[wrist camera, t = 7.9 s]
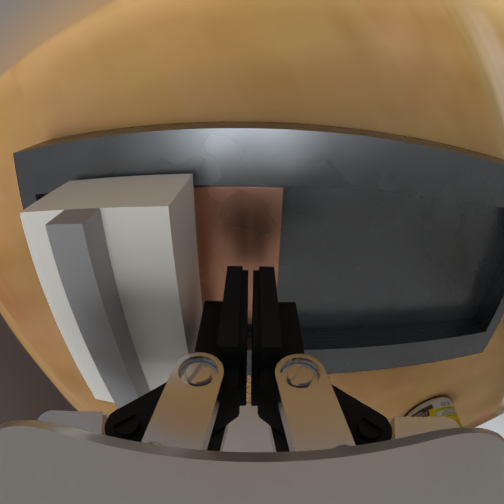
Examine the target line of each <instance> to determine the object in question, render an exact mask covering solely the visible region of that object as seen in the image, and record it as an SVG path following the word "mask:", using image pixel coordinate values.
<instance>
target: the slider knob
mask: <svg viewBox="0 0 504 504" xmlns="http://www.w3.org/2000/svg"><path fill="white" fill-rule="evenodd" d="M20 217H21V221H22V225H23V229H24V232H25V236H26V239H27V243H28V246H29V250H30V253H31V256H32V259H33V262H34V266H35V269H36V271H37V274H38V277H39V280H40V283H41V286H42V288H43V291H44V294H45V296H46V299H47V301H48V304H49V306H50V309H51V311H52V314H53V316H54V318H55V321H56V323H57V325H58V327H59V330H60V332H61V334H62V336H63V338H64V340H65V343H66V345H67V347H68V349H69V351H70V353H71V355H72V357H73V359H74V361H75V363H76V365H77V366H78V368H79V370H80V372H81V374H82V376H83V378H84V379H85V381H86V383H87V385H88V386H89V388H90V390H91V392H92V393H93V395H94V397H95V398H96V399H99V400H104V401H109V402H114V403H115V404H116V406H117V408H118V409H119V408H121V407H123V406H124V405H126V404H128V403H130V402H132V401H134V400H135V399H137V398H139V397H141V396H143V395H144V394H146V393H148V392H150V391H152V390H153V389H155V388H157V387H159V386H160V385H162V384H164V383H166V382H167V381H168V379H169V376H170V374H171V372H172V370H173V367H174V365H175V364H176V362H177V361H178V360H179V359H180V358H182V357H183V356H185V355H188V354H190V353H194V352H195V347H196V342H197V337H198V332H199V327H200V322H201V317H202V312H203V308H202V298H201V287H200V276H199V264H198V251H197V238H196V223H195V207H194V188H193V174H161V175H140V176H123V177H108V178H96V179H84V180H74V181H68V182H67V183H65V184H63V185H62V186H60V187H58V188H57V189H55V190H53V191H52V192H50V193H49V194H47V195H45V196H44V197H42V198H41V199H39V200H38V201H36V202H35V203H33V204H32V205H30V206H29V207H27V208H26V209H24V210H23V211H21V212H20Z"/></svg>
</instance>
